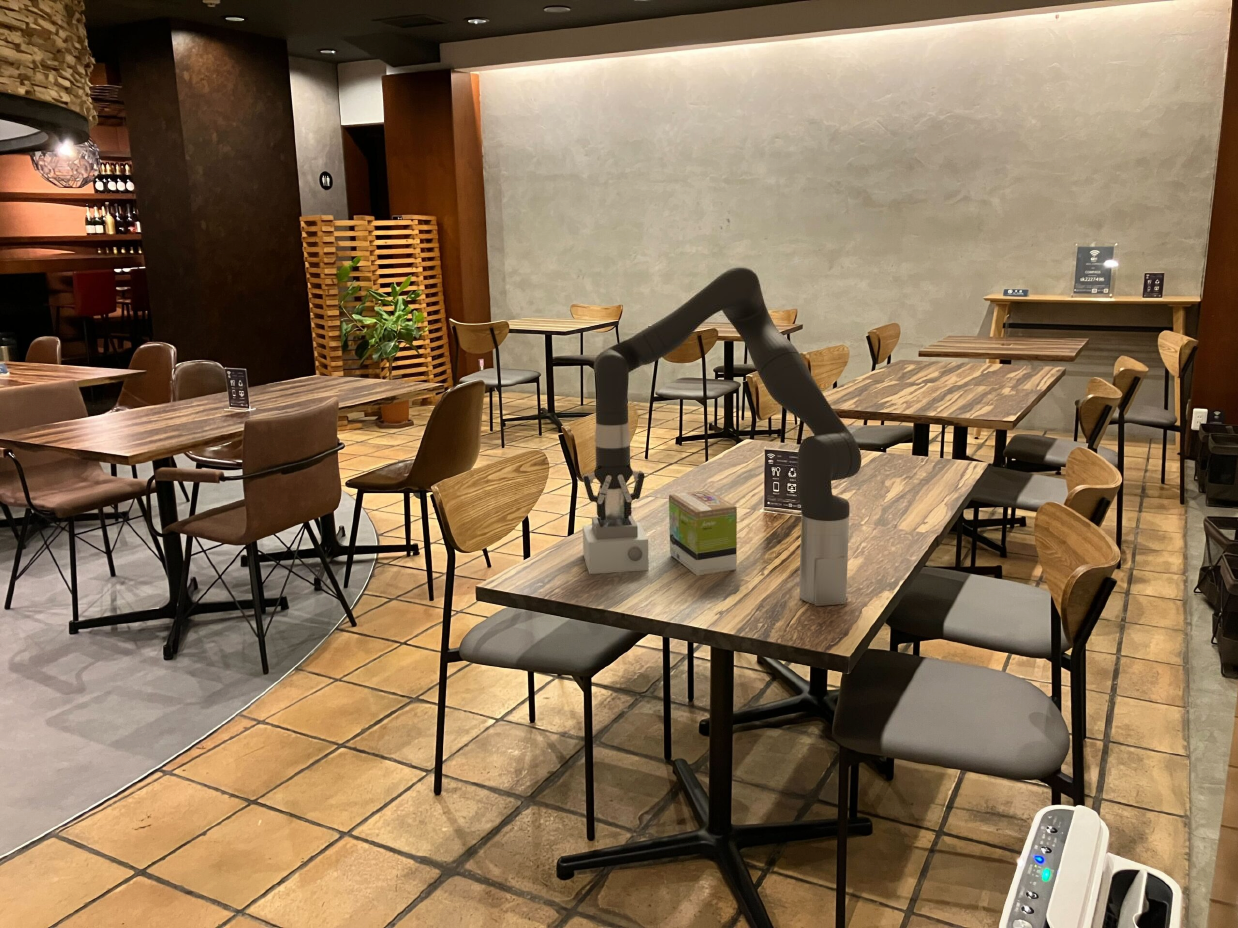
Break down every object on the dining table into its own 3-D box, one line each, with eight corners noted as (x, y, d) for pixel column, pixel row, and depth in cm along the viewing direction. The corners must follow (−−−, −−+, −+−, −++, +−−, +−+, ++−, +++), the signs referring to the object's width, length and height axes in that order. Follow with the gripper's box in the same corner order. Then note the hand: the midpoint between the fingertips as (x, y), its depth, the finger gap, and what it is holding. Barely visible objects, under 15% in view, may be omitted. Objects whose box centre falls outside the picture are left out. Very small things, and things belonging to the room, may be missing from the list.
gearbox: (649, 571, 211) (648, 529, 209) (589, 575, 210) (588, 532, 207) (639, 551, 225) (638, 511, 222) (583, 554, 223) (582, 514, 221)
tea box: (668, 555, 221) (667, 493, 218) (708, 550, 225) (708, 488, 221) (696, 576, 207) (696, 510, 204) (738, 570, 211) (738, 504, 207)
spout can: (627, 528, 213) (626, 483, 211) (604, 529, 213) (603, 484, 211) (623, 522, 218) (623, 478, 216) (601, 523, 218) (600, 479, 215)
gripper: (581, 448, 207) (583, 525, 211) (648, 445, 208) (649, 521, 212) (578, 441, 214) (580, 515, 218) (642, 438, 216) (643, 511, 220)
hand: (614, 517), depth 215 cm, fingers closed on spout can, 5 cm apart
